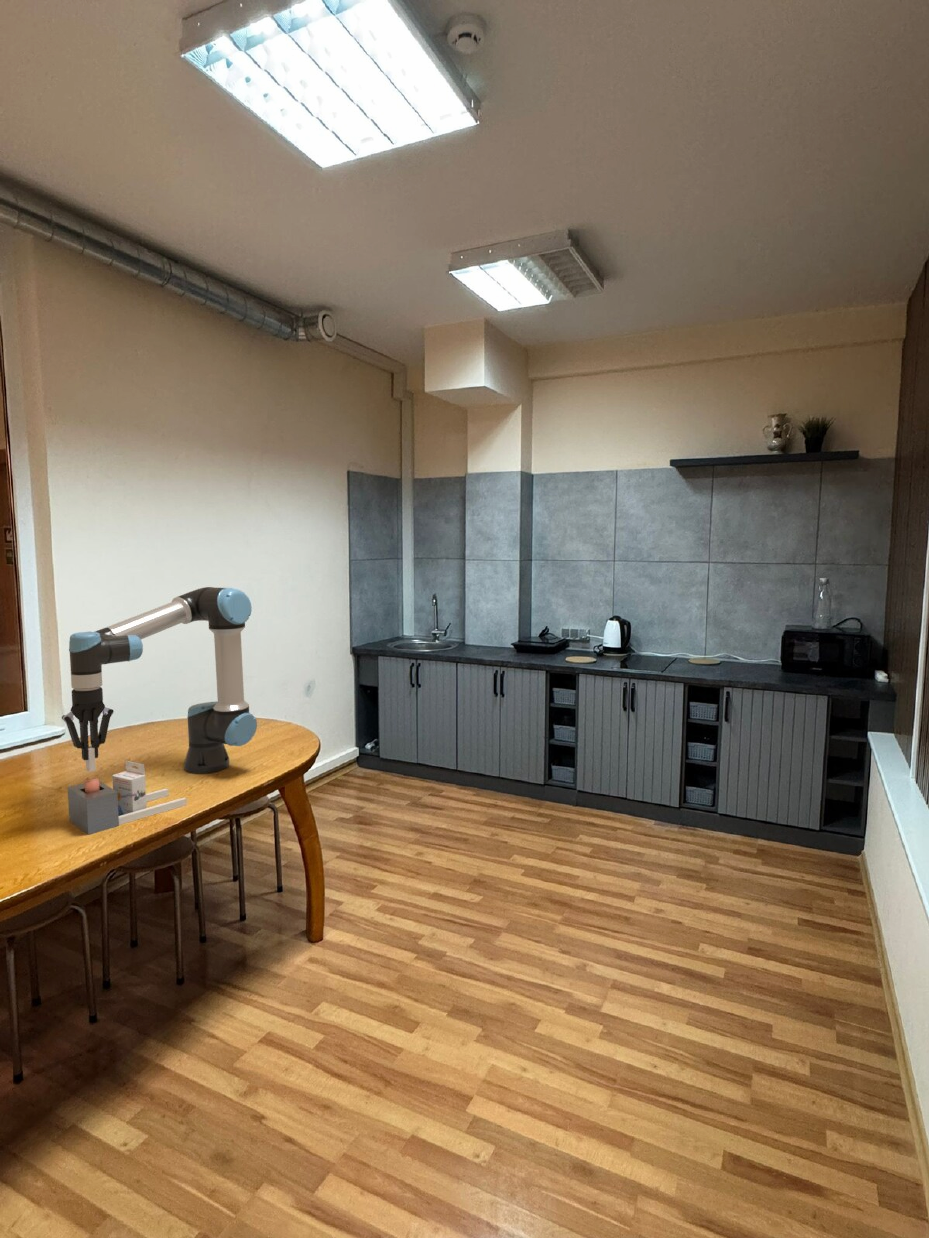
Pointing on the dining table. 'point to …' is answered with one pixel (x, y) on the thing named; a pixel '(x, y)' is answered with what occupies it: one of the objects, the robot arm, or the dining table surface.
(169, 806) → the rail track
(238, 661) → the robot arm
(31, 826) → the dining table surface
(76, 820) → the grey rectangular block
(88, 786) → the gauge plunger
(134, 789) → the ink box
